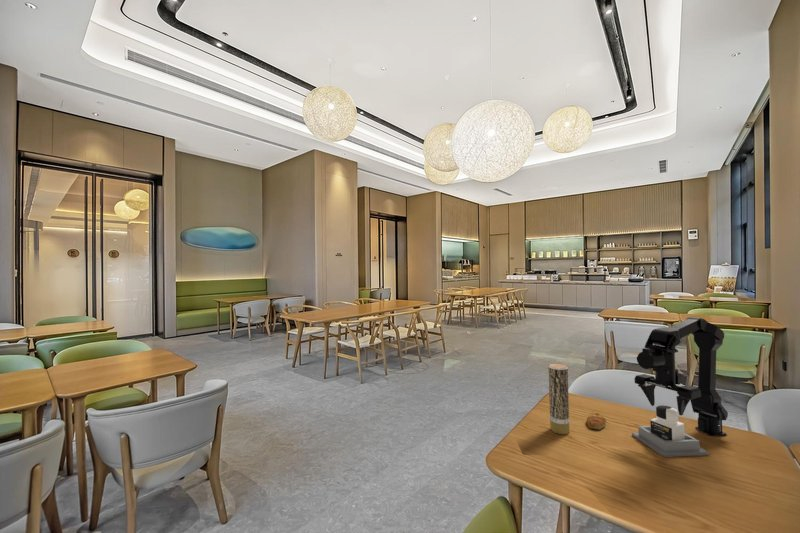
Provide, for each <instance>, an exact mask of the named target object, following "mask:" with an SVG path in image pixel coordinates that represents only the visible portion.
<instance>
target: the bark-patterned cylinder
mask: <svg viewBox="0 0 800 533" xmlns="http://www.w3.org/2000/svg"><path fill="white" fill-rule="evenodd" d="M568 370H569V368H568V365H566V364H562V363H550V364H548V392H549V394H548V396H549V421H550V423H549V426H550V431H552V432H553V433H555V434H557V433H558V435H567V434H569V433H570V400H569V371H568Z"/></svg>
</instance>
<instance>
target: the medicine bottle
mask: <svg viewBox="0 0 800 533" xmlns="http://www.w3.org/2000/svg"><path fill="white" fill-rule="evenodd" d="M655 415H656V416H655V417H656V418H655V417H654V418H651V419H650V423H649V424H650V426H651V432H652V433H653V434H655V435H656V436H658V437H660V438H661V439H663V440H665V441H668V440H685V433H686V430H685V428H686V427H685V423H683V422H681V421H679V412H678V409H676V408H675V407H672V406H669V405H657V406H656V407H655Z"/></svg>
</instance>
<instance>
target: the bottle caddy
mask: <svg viewBox="0 0 800 533" xmlns="http://www.w3.org/2000/svg"><path fill="white" fill-rule="evenodd" d="M631 436H632V437H633V438H635V439H637V440H638V441H640V442H642V443H643V444H644V445H645V446H648V448H650V449H652V450H653V451H655V452H656V453H657V454H659V455H660V456H662V457H665V458H668V457H669V458H670V457H671V458H672V457H691V456H692V457H697V456H709V452H708V451H707V450H705V449H704V448H702V447H701V446H700V444H701V443H700V440H698V439H697V438H695V437H693V436H691V435H689V434H687V433H686V432H685V440H668V441H665V440H663V439H661V438H660V437H658V436H656V435H655V434H653V433H652V432H651V425H642V426H641V425H638V432H631Z"/></svg>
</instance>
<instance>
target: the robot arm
mask: <svg viewBox="0 0 800 533" xmlns="http://www.w3.org/2000/svg"><path fill="white" fill-rule="evenodd" d="M689 335H692V336H693V342H694V343H695V344H696V346H697V348H698V372H697V373H698V377H697V379H698V380H697V387H696V386H692V385H688V384H687V379H688V376H686V375H683V374H681V373H679V369H678V368H676V354H675V353H679V350H678V349H677V348H676V347H677V346H678V345H680V343H681V340H682V339H683V338H685V337H687V336H689ZM724 339H725V332H724V330H722V329H721V328H720V327H719V326H718V325H715V324H713V323H710V322H708V321H707V320H706V319H704V318H702V317H695V316H694V317H693V316H688V317H686V319H684V320H683V321H680V322H678V323H675V324H673V325H672V326H669V327H659V328H658V327H657V328H654V329H652V330H651V332H650V334H649V336H648V338H647V340H646V342H645V345H644V348H642V351H641V352H639V353H638V354H637V357H636V361H637V364H638V366H640V367H641V368H642V369H644V370H650V369H652V371H653V372H654V375H655V376H653V375H650V374H645V373H643V374H637V375H635V376H634V379H633V380H634V381H633V382H634V384H637V386H638V387H639V388H640V389H641V391H642V392H643V393H644V395H645V397H646V398H647V400H648V403H649V404H650V406H651V407H654V406H655V403H656V402H655V389H656V387H660V388H663V389H666V390H669V391H673V392H676V393H677V396H675V397H676V403H677V411H678V416H683V415H684V413H685V410H686V408H687V406H688V405H689V402H690V405H691V408H692V412H693V413H697V415H698V417H697V426H694V429H696V430H698V431H700V432H702V433H704V434H706V435H708V436H710V437H714V436H716V437H717V436H728V435H727V433H726V432H724V431H723V421H727V419H728V416H729V412H728V411H727V410H726V408H725V407H724V405H722V398H721V396H720V394H719V393H718V391H717V390H716V382H717V380H716V378H717V377H716V375H717V351H718V349H720V348H721V346H722V345H723V342H724ZM679 385H681V386H679ZM718 425H720V426H718Z"/></svg>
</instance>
